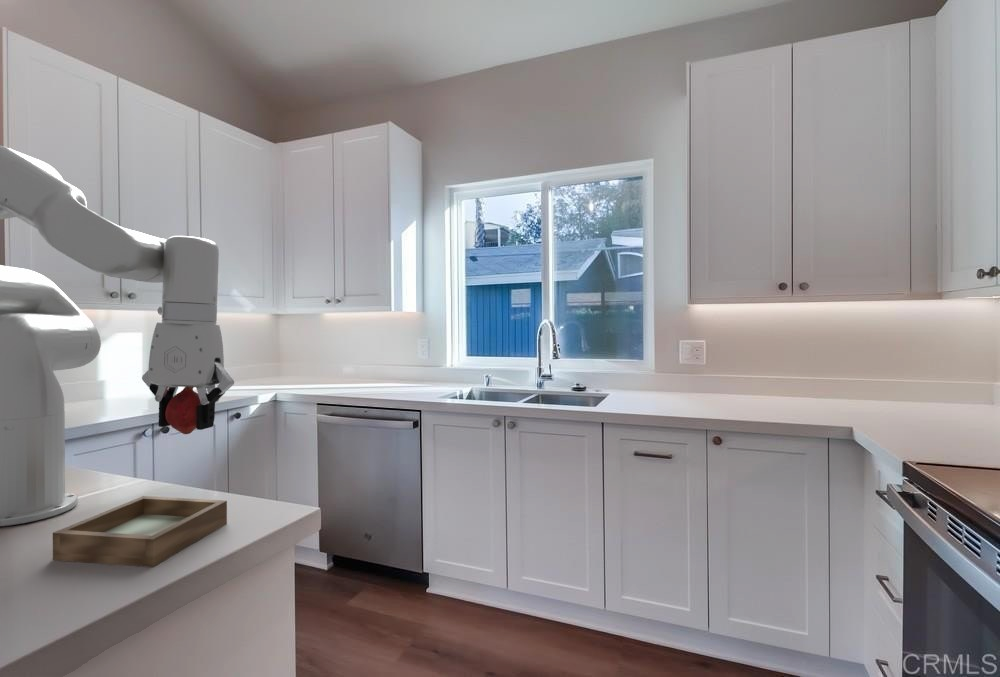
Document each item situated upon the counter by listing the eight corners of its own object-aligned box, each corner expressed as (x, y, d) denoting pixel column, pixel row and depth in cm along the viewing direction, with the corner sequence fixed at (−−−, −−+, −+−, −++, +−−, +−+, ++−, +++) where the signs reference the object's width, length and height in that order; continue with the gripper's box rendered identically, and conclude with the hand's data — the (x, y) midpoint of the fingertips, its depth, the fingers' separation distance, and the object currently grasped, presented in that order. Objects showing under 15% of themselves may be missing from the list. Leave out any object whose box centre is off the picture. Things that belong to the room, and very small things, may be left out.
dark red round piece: (186, 439, 78) (188, 388, 77) (155, 436, 79) (157, 385, 78) (215, 432, 83) (216, 384, 83) (185, 429, 84) (187, 382, 84)
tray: (52, 559, 64) (52, 532, 64) (143, 518, 78) (142, 496, 78) (152, 567, 62) (152, 539, 62) (226, 523, 76) (226, 500, 76)
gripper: (121, 312, 78) (117, 427, 78) (224, 316, 76) (220, 435, 76) (159, 313, 85) (156, 419, 86) (254, 317, 83) (250, 426, 84)
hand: (186, 425), depth 81 cm, fingers closed on dark red round piece, 5 cm apart
